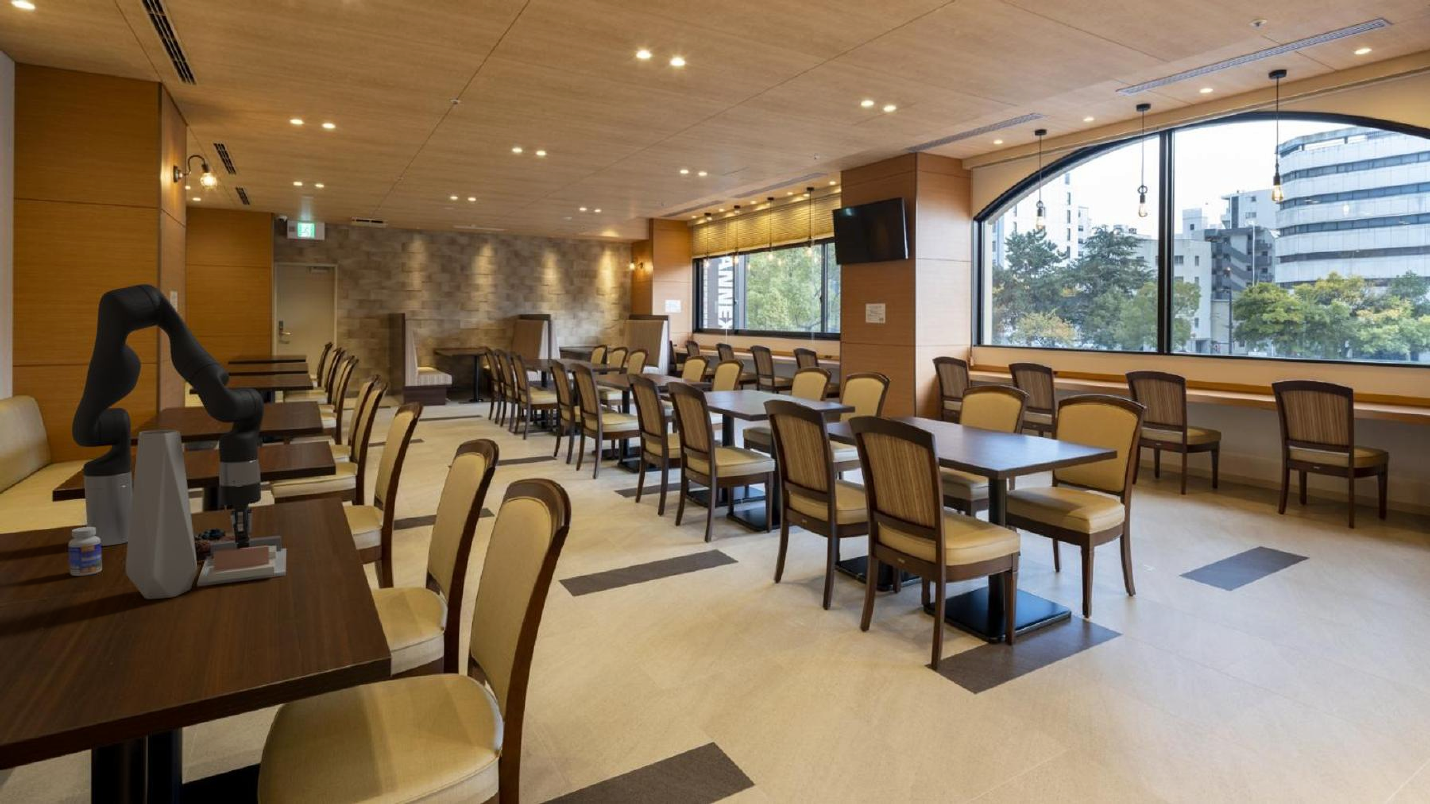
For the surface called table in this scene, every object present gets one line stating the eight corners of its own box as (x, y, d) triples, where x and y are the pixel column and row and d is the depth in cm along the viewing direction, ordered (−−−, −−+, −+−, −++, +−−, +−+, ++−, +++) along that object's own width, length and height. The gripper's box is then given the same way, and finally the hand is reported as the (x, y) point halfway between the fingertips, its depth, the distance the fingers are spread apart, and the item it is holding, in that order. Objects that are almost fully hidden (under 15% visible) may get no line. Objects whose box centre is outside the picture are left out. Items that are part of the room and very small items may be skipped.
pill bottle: (84, 577, 163) (81, 533, 162) (63, 575, 164) (60, 531, 163) (108, 569, 168) (106, 526, 167) (88, 567, 169) (86, 524, 169)
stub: (210, 575, 162) (208, 550, 162) (275, 567, 168) (274, 543, 168) (207, 581, 158) (206, 556, 158) (274, 573, 164) (273, 549, 163)
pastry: (168, 556, 179) (166, 532, 179) (219, 544, 190) (218, 521, 189) (197, 563, 174) (195, 538, 174) (248, 550, 185) (247, 526, 185)
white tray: (206, 559, 176) (206, 543, 176) (286, 551, 184) (285, 534, 184) (197, 586, 159) (196, 567, 158) (285, 575, 166) (284, 557, 166)
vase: (218, 587, 158) (210, 429, 155) (162, 605, 147) (152, 437, 144) (176, 579, 162) (168, 426, 159) (118, 597, 151) (108, 433, 148)
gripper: (221, 476, 168) (225, 553, 170) (216, 488, 157) (220, 570, 159) (261, 474, 172) (264, 549, 174) (259, 484, 161) (262, 565, 162)
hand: (243, 559), depth 166 cm, fingers closed
